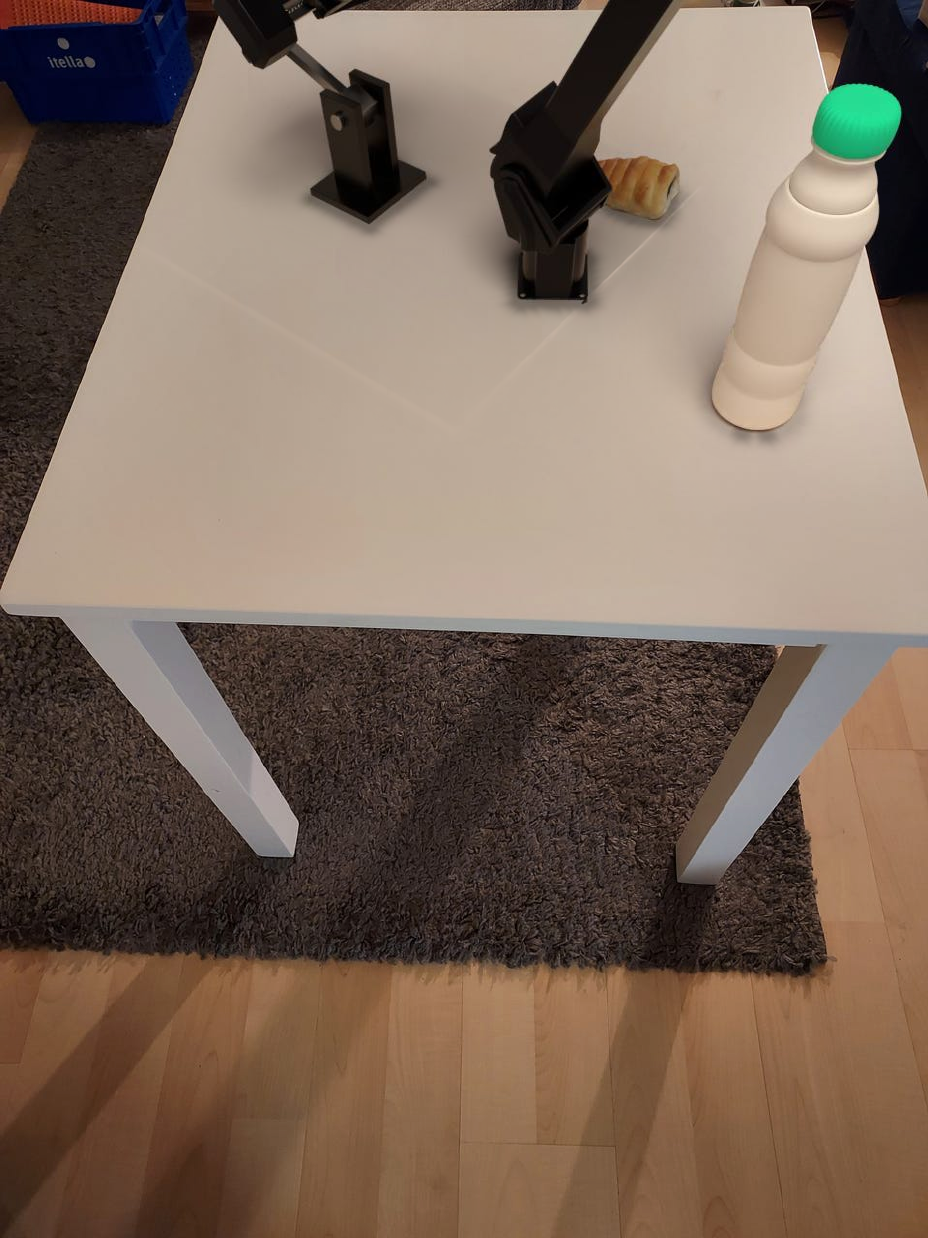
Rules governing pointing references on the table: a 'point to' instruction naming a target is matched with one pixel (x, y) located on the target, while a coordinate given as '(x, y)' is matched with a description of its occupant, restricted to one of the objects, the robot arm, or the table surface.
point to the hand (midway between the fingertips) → (281, 34)
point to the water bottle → (806, 259)
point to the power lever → (334, 83)
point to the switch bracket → (363, 154)
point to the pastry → (641, 185)
